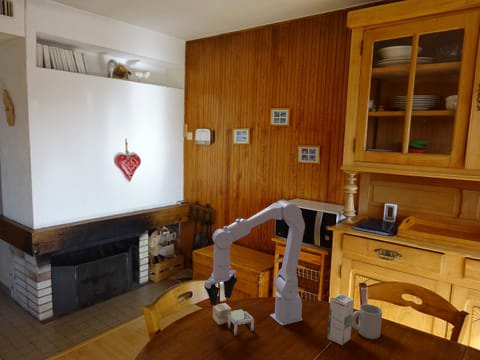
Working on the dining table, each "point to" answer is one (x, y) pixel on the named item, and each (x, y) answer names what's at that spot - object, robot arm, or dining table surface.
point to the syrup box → (340, 319)
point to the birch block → (221, 313)
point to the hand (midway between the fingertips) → (220, 301)
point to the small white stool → (241, 322)
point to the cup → (368, 321)
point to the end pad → (238, 315)
